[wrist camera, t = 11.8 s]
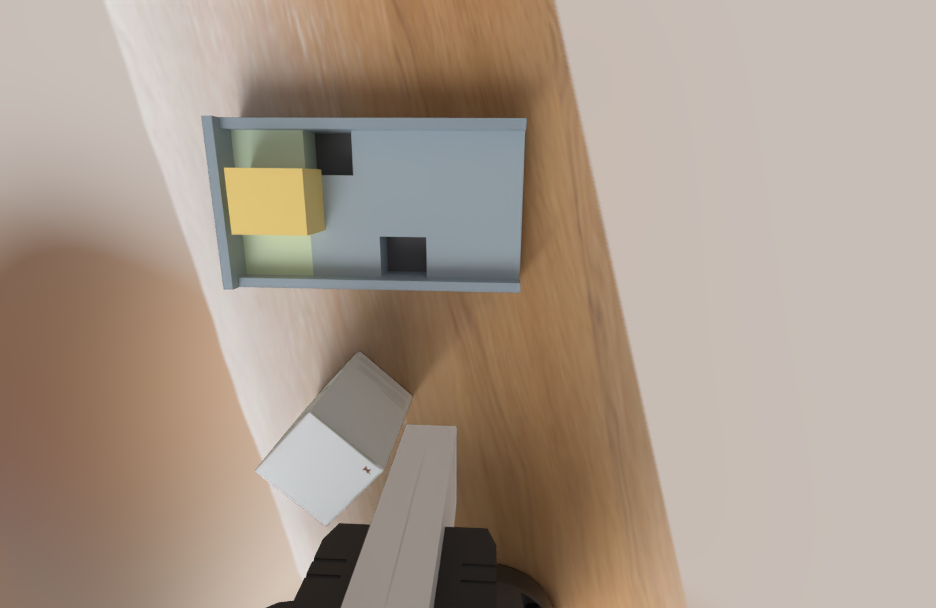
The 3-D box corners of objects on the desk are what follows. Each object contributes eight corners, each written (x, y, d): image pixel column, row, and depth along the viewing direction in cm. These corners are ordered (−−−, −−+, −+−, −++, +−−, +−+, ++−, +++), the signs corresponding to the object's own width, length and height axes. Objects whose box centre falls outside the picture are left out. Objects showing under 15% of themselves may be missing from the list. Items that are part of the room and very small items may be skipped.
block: (325, 230, 40) (307, 235, 36) (256, 229, 40) (231, 234, 37) (321, 169, 39) (302, 168, 35) (250, 168, 39) (223, 167, 35)
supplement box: (359, 347, 46) (310, 408, 34) (415, 396, 47) (387, 472, 35) (313, 396, 48) (250, 471, 36) (368, 442, 49) (326, 531, 37)
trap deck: (517, 281, 43) (520, 295, 38) (255, 276, 45) (223, 289, 39) (523, 124, 40) (527, 116, 35) (238, 123, 41) (201, 115, 36)
